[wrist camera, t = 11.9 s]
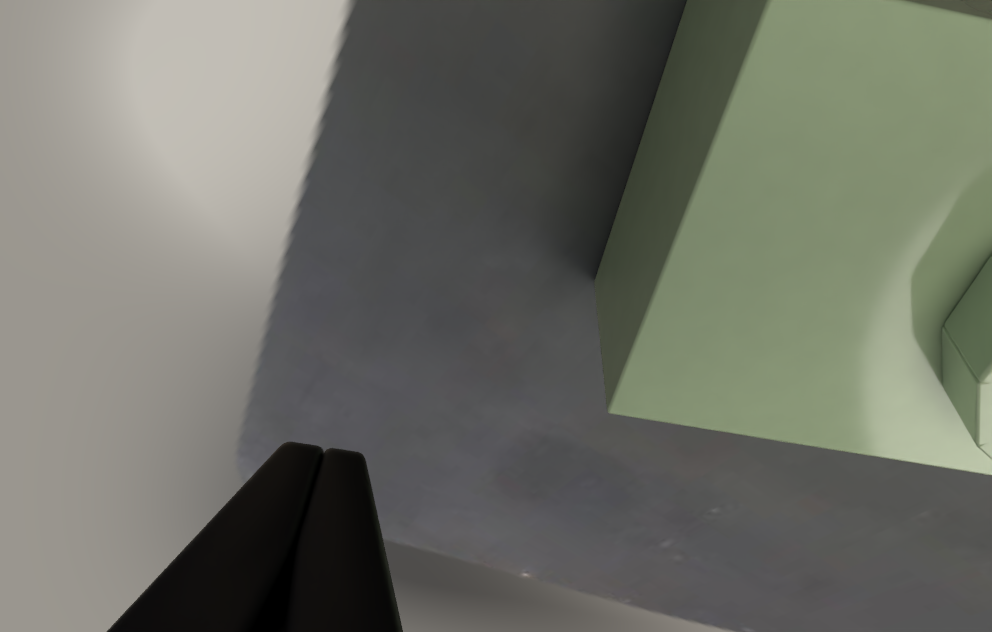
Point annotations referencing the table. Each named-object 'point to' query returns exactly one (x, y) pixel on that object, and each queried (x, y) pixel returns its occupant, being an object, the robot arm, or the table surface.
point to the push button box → (812, 231)
